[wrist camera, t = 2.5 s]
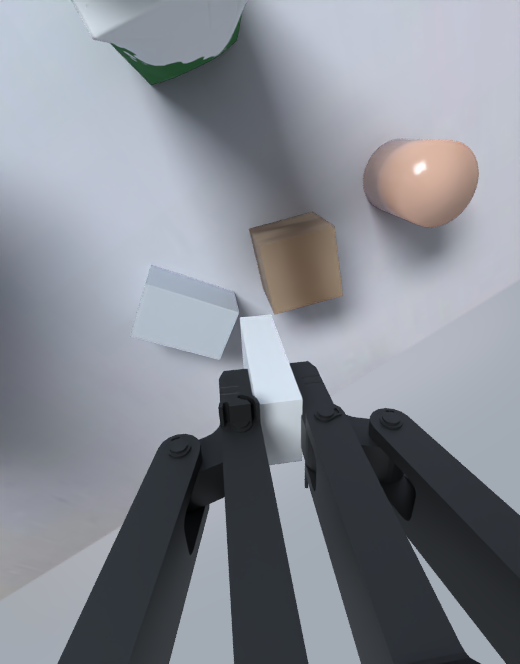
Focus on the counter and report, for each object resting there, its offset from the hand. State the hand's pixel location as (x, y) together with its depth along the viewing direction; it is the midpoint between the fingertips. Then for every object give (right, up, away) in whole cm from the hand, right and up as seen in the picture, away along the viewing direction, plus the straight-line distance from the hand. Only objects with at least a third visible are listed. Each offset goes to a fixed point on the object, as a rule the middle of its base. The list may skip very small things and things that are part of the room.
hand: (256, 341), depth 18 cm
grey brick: (-7, +3, +18) cm, 20 cm away
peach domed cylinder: (+12, +14, +15) cm, 24 cm away
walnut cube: (+3, +8, +17) cm, 19 cm away
